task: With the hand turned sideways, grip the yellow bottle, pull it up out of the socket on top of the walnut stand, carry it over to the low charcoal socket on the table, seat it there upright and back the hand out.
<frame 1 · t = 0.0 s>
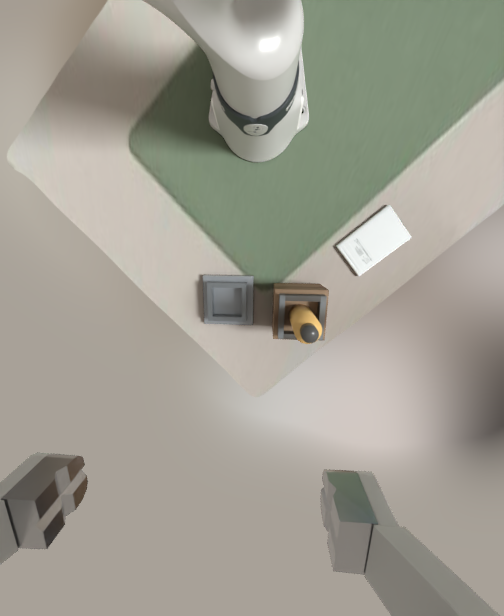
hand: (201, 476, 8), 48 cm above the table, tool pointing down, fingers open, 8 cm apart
low socket: (228, 299, 56), on the table
external hard drive: (370, 241, 52), on the table
yellow bottle: (300, 315, 48), point 8 cm above the table, touching walnut stand
walnut stand: (295, 305, 56), on the table
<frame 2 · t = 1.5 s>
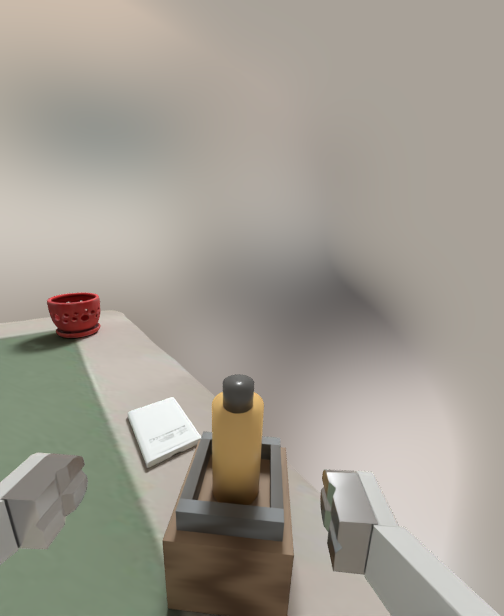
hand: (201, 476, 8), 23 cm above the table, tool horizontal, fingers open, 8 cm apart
plant pot: (79, 334, 79), on the table
external hard drive: (163, 432, 41), on the table
yellow bottle: (235, 485, 24), point 8 cm above the table, touching walnut stand
walnut stand: (234, 545, 26), on the table
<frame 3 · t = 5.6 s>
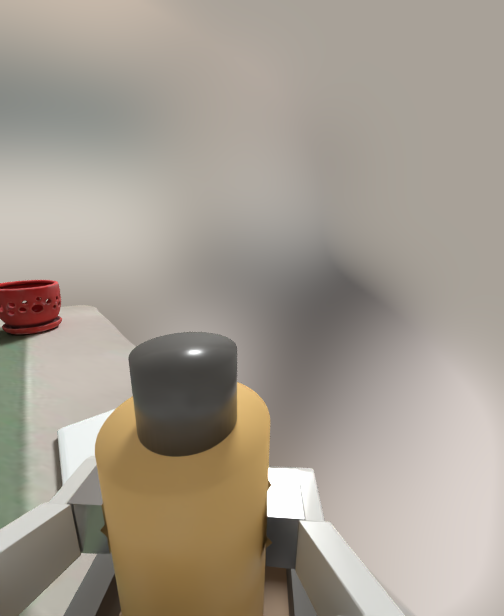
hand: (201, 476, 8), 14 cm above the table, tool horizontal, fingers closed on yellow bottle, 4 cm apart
plant pot: (34, 330, 64), on the table
external hard drive: (110, 459, 27), on the table
when the fingers open (8 cm above the table, at t = 12.3 s): yellow bottle stays where it is, resting on low socket.
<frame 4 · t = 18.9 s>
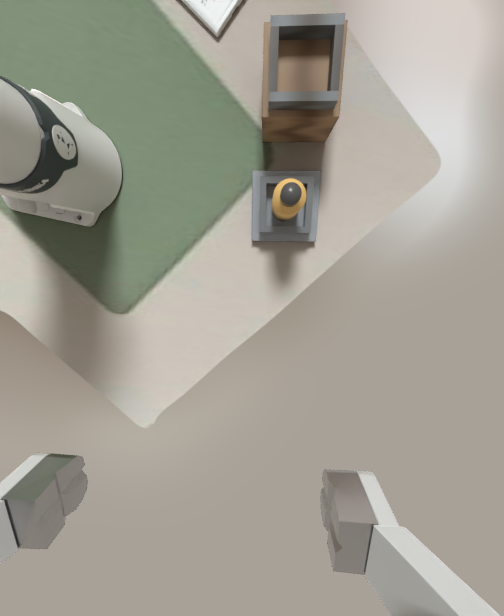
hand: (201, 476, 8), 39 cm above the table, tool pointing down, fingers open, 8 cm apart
low socket: (284, 207, 43), on the table
yellow bottle: (284, 206, 42), point 1 cm above the table, touching low socket
walnut stand: (295, 105, 39), on the table
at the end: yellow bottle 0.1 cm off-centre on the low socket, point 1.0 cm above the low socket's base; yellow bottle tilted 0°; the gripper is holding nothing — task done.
